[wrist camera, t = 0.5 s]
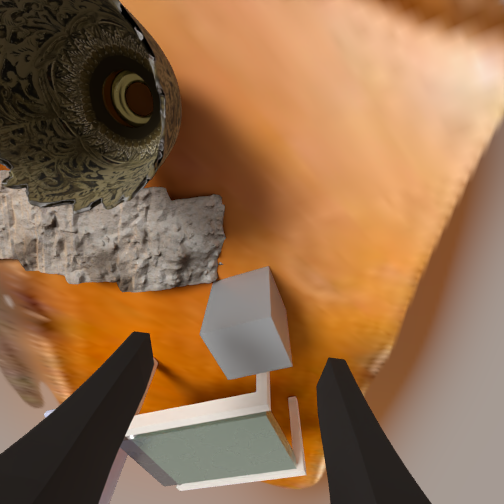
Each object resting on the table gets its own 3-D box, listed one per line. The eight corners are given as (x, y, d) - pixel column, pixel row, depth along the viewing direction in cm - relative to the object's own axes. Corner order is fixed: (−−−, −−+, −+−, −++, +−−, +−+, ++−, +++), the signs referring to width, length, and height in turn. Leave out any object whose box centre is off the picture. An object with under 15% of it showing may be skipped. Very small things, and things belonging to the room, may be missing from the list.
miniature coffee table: (194, 419, 31) (180, 490, 25) (146, 359, 26) (115, 431, 21) (297, 400, 29) (306, 474, 23) (265, 331, 24) (267, 403, 18)
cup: (42, 64, 15) (-154, 36, 8) (152, -23, 13) (24, -163, 6) (132, 187, 18) (51, 244, 11) (230, 131, 16) (207, 158, 9)
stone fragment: (235, 270, 22) (219, 138, 17) (232, 292, 20) (214, 145, 15) (-62, 284, 23) (-155, 164, 18) (-100, 307, 21) (-220, 174, 16)
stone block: (234, 322, 24) (228, 380, 19) (213, 281, 22) (199, 334, 17) (286, 309, 23) (292, 366, 18) (268, 265, 21) (270, 316, 16)
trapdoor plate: (169, 467, 26) (165, 487, 25) (121, 421, 23) (112, 441, 21) (295, 449, 24) (297, 469, 23) (265, 393, 20) (265, 414, 19)
